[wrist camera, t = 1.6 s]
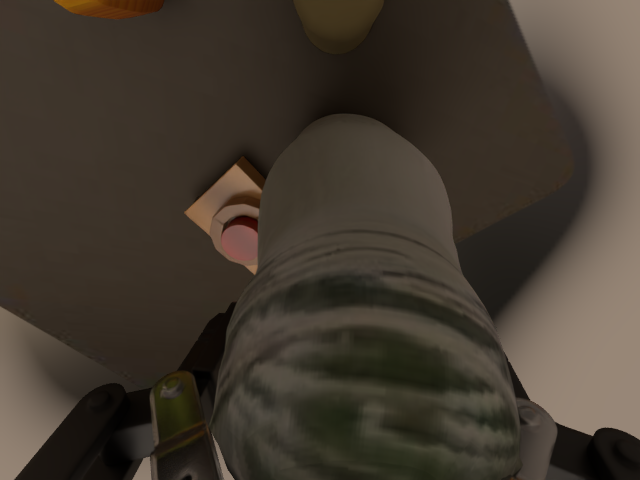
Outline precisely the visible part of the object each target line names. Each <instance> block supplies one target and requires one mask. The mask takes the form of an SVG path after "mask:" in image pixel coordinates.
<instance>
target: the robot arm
mask: <svg viewBox="0 0 640 480" xmlns="http://www.w3.org/2000/svg"><path fill="white" fill-rule="evenodd" d="M236 303H237V302H232V303H231V304H230V306H229V308H228V309H227V311H226V312H225V313H219V314H218V315H216V316H215V317H214V318H213V319H211V320H210V321H209V322H208V324H207V326H206V327H205V329H204V330H203V333H201V335H200V336H199V338H198V341H196V342H195V344H194V346H193V347H192V349H191V350H190V352H189V353H188V355H187V356H186V358H185V359H184V361H183V363H182V364H181V366H180V367H179V369H178V370H177V371H175V372H172V373H169V374H167V375H165V376H164V377H162V378H161V379H160V380H158V381H157V382H156V384H155V385H154V386H153V387H152V388H148V389H144V390H139V391H134V392H129V393H126V391H125V389H124V387H123V386H122V385H120V384H117V383H110V384H106V385H102V386H100V387H98V388H96V389H94V390H92V391H91V392H89V393H88V394H87V395H85V397H83V398H82V399H81V400H80V401H79V403H78V404H77V405H76V406H75V408H74V409H73V410H72V411H71V412H70V413H69V415H68V416H67V417H66V418H65V419H64V421H63V422H62V423H61V424H60V425H59V427H58V428H57V429H56V430H55V431H54V433H53V434H52V435H51V436H50V437H49V439H48V440H47V441H46V442H45V443H44V445H43V446H42V447H41V448H40V449H39V451H38V452H37V453H36V454H35V455H34V457H33V458H32V459H31V460H30V462H29V463H28V464H27V465H26V466H25V467H24V469H23V470H22V471H21V472H20V474H19V475H18V476H17V477H16V479H15V480H132V479H133V477H134V475H135V473H136V472H137V470H138V468H139V466H140V464H141V462H142V460H143V458H146V457H150V464H151V477H152V480H224V478H223V474H222V471H221V467H220V463H219V459H218V455H217V452H216V448H215V444H214V440H213V437H212V433H211V430H210V429H209V427H208V425H209V423H210V420H211V417H212V415H213V410H214V403H215V396H216V388H217V381H218V374H219V369H220V366H221V362H222V359H223V355H224V352H225V342H226V332H227V327H228V325H229V322H230V319H231V317H232V314H233V311H234V309H235V306H236ZM504 354H505V353H504ZM505 357H506V361H507V365H508V369H509V372H510V376H511V380H512V384H513V388H514V393H515V398H516V403H517V409H518V415H519V421H520V428H521V439H520V454H519V457H520V459H521V462H522V464H523V466H522V467H521V468H520V469H519V470H518V471H517V472H516V473H515V474H514V475H513V476H512V475H508V476H507V477H504V478H502V479H501V480H640V440H639V439H637V438H635V437H634V436H632V435H630V434H628V433H626V432H623V431H621V430H618V429H613V428H601V429H598V430H597V431H596V432H595V434H594V436H591V435H588V434H585V433H582V432H579V431H577V430H574V429H571V428H568V427H565V426H563V425H560V424H558V423H556V422H554V420H553V419H552V417H551V416H550V415H549V414H548V413H547V412H546V411H545V410H544V409H543V408H542V407H540V406H539V405H538V404H536V403H534V402H532V401H530V399H529V397H528V395H527V394H526V392H525V390H524V388H523V387H522V384H521V382H520V381H519V379H518V377H517V375H516V373H515V372H514V370H513V368H512V366H511V364H510V362H508V358H507V356H506V355H505Z"/></svg>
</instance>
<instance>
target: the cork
mask: <svg viewBox="0 0 640 480" xmlns="http://www.w3.org/2000/svg"><path fill="white" fill-rule="evenodd" d="M293 2H294V5H295V8H296V11H297V13H298V16H299V17H300V19H301V22H302V25H303V28H304V31H305V34H306V35H307V37H308V38H309V39H310V41H311V42H312V44H313V45H314V46H316V47H317V48H319V49H320V50H321V51H323V52H326V53H330V54H333V55H334V54H345V53H347V52H349V51H351V50H353V49H355V48H356V47H357V46H358V45H360V44H361V43H362V42H363V41H364V40H365V38H366V36H367V34H368V33H369V31H370V29H371V27H372V24H373V23H374V21H375V19H376V18H377V16H378V14H379V12H380V11H381V9H382V7H383V4H384V0H293Z"/></svg>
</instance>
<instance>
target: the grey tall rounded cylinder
mask: <svg viewBox="0 0 640 480" xmlns="http://www.w3.org/2000/svg"><path fill="white" fill-rule="evenodd" d="M452 230H453V226H452V215H451V208H450V204H449V200H448V196H447V193H446V189H445V186H444V184H443V181H442V179H441V177H440V175H439V173H438V172H437V170H436V169H435V167H434V166H433V165H432V163H431V162H430V161H429V160H428V159H427V158H426V157H425V156H424V154H422V153H421V152H420V151H419V150H418V149H417V148H416V147H415V146H413V145H412V144H411V143H410V142H408V141H407V140H406V139H404V138H403V137H402V136H400V135H398V134H397V133H395V132H394V131H393V130H391V129H390V128H389V127H387V126H386V125H384V124H383V123H381V122H379V121H377V120H375V119H372V118H370V117H366V116H362V115H356V114H334V115H329V116H325V117H323V118H320V119H318V120H316V121H314V122H313V123H311V124H310V125H308V126H307V127H306V128H305V129H304V130H303V131H302V132H301V133H300V134H299V136H298V137H297V138H296V139H295V140H294V141H293V142H292V143H291V144H290V145H289V146H288V147H287V148H286V149H285V150H284V151H283V152H282V153H281V155H280V156H279V157H278V159H277V160H276V162H275V163H274V165H273V167H272V168H271V170H270V172H269V174H268V177H267V179H266V181H265V184H264V188H263V190H262V194H261V200H260V208H259V218H258V268H257V271H256V274H255V276H254V277H253V278H252V280H251V281H250V282H249V284H248V285H247V287H246V288H245V290H244V291H243V293H242V295H241V297H240V298H239V300H238V302H237V303H236V306H235V309H234V311H233V314H232V317H231V319H230V322H229V325H228V327H227V332H226V342H225V352H224V355H223V359H222V362H221V366H220V369H219V374H218V381H217V388H216V396H215V403H214V410H213V415H212V417H211V420H210V423H209V425H208V427H209V429H210V430H211V432H212V434H213V436H214V438H215V440H216V441H217V443H218V445H219V447H220V450H221V453H222V455H223V458H224V461H225V464H226V466H227V469H228V471H229V472H230V473H231V475H232V476H233V478H234V479H235V480H501V479H502V478H504V477H507V476H508V475H512V476H513V475H514V474H515V473H516V472H517V471H518V470H519V469H520V468H521V467H522V466H523V464H522V462H521V459H520V457H519V454H520V439H521V428H520V421H519V415H518V409H517V403H516V398H515V393H514V388H513V384H512V380H511V376H510V372H509V369H508V365H507V361H506V357H505V354H504V351H503V348H502V345H501V342H500V339H499V336H498V333H497V330H496V328H495V326H494V323H493V322H492V320H491V318H490V316H489V314H488V312H487V310H486V308H485V307H484V305H483V304H482V302H481V301H480V299H479V298H478V296H477V294H476V293H475V292H474V290H473V289H472V288H471V286H470V285H469V283H468V282H467V280H466V279H465V278H464V276H463V274H462V271H461V268H460V265H459V261H458V255H457V250H456V247H455V244H454V241H453V237H452Z"/></svg>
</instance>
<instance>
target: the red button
mask: <svg viewBox="0 0 640 480" xmlns="http://www.w3.org/2000/svg"><path fill="white" fill-rule="evenodd" d="M221 244H222V247H223V249H224V250H225V252H226V253H227V254H228V255H229V256H231V257H233V258H235V259H237V260H242V261H248V260H252V259H255V258H256V257H258V221H256V220H255V219H253V218H250V217H237V218H235V219H233V220H232V221H231V222H230V223H229V224H228V225H227V227H226V228H225V230H224V231H223V233H222V236H221Z"/></svg>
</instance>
